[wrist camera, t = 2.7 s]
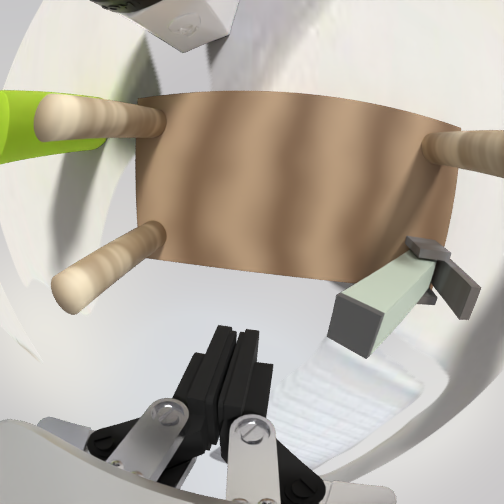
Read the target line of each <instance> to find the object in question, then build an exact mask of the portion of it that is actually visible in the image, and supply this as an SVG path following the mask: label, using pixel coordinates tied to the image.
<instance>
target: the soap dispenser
mask: <svg viewBox="0 0 504 504" xmlns="http://www.w3.org/2000/svg"><path fill="white" fill-rule="evenodd" d="M52 93H53V94H65V95H75V96H83V97H91V98H99V97H92V96H84V95H76V94H66V93H55V92H42V91H18V90H0V164H4V163H9V162H13V161H18V160H24V159H29V158H35V157H41V156H47V155H54V154H61V153H69V152H77V151H86V150H94V149H96V148H98V147H100V146H101V145H102V144H103V143H104V142H105V140H106V139H107V138H93V139H75V140H62V141H51V142H41V141H39V140H38V139H37V137H36V135H35V132H34V116H35V112H36V109H37V107H38V105H39V103H40V101H41V100H42V99H43V98H44V97H45V96H46V95H48V94H52ZM99 99H102V98H99Z"/></svg>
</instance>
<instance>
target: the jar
mask: <svg viewBox="0 0 504 504" xmlns="http://www.w3.org/2000/svg"><path fill="white" fill-rule="evenodd" d="M90 1H92V2H94V3H96V4H98V5H100V6H101V7H102V8H104V9H106V10H110V11H112V12H116V13H117V14H119V15H121V16H123V17H125V18H126V19H128V20H130V21H132V22H133V23H135V24H137V25H138V26H140V27H142V28H143V29H145V30H146V31H148V32H150V33H151V34H153V35H154V36H156V37H158V38H159V39H161V40H163V41H164V42H166V43H168V44H169V45H171V46H172V47H174V48H175V49H177V50H179V51H180V52H182V53H185V52H188V51H190V50H192V49H194V48H197V47H199V46H201V45H204V44H206V43H208V42H211V41H213V40H216V39H219V38H221V37H224V36H227V35H229V33H230V30H231V27H232V23H233V20H234V17H235V13H236V10H237V7H238V4H239V1H240V0H90Z"/></svg>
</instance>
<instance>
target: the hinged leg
mask: <svg viewBox="0 0 504 504" xmlns="http://www.w3.org/2000/svg"><path fill="white" fill-rule="evenodd" d="M436 262H437V260H434V259H427V258H419V257H418V256H417V255H416V254H415V253H414V252H413V251H412V250H411V249H410V250H408V251H407V252H405V253H404V254H402V255H401V256H399V257H398V258H396V259H395V260H393V261H391V262H390V263H388V264H387V265H385V266H384V267H382V268H380V269H379V270H377V271H376V272H374V273H372V274H371V275H369V276H368V277H366V278H364V279H363V280H361V281H359V282H358V283H356V284H354V285H353V286H351V287H349V288H347V289H346V290H344V291H342V292H341V293H339V294H337V295H336V300H335V304H334V309H333V313H332V317H331V322H330V326H329V330H328V334H327V337H328V338H330V339H332V340H334V341H335V342H337V343H339V344H341V345H342V346H344V347H346V348H348V349H349V350H351V351H353V352H355V353H357V354H358V355H360V356H362V357H364V358H365V359H367V358H368V357H369V356H370V355H371V354H372V353H373V352H374V351H375V350H376V349H377V348H378V347H379V346H380V344H381V343H382V342H383V341H384V340H385V339H386V338H387V337H388V336H389V335H390V334H391V333H392V331H393V330H394V329H395V328H396V327H397V326H398V325H399V324H400V322H401V321H402V320H403V319H404V318H405V317H406V315H407V314H408V313H409V312H410V311H411V309H412V308H413V307H414V306H415V305H416V303H417V302H418V301H419V300H420V298H421V297H422V296H423V294H424V293H425V292H426V291H427V289H428V288H429V285H430V282H431V279H432V276H433V272H434V269H435V265H436Z"/></svg>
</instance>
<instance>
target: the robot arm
mask: <svg viewBox="0 0 504 504" xmlns="http://www.w3.org/2000/svg"><path fill="white" fill-rule="evenodd" d="M236 337H237V332H236V331H232V327H228V326H221V325H218V327H217V329H216V331H215V333H214V336H213V338H212V340H211V343H210V345H209V347H208V349H207V352H206V354H202V353H194V355H193V356H192V359H191V361H190V363H189V365H188V367H187V369H186V371H185V373H184V375H183V377H182V379H181V381H180V384H179V385H178V387H177V390H176V391H175V394H174V396H173V398H164V399H159V400H157V401H155V402H153V403H152V405H150V406H149V408H148V409H147V410H146V411H145V413H144V414H143V415H142V416H141V417H140V418H137V419H134V420H130V421H127V422H124V423H120V424H117V425H113V426H110V427H106V428H102V429H99V430H97V431H94V430H91V428H89V427H85V426H81V425H77V424H73V423H70V422H66V421H63V420H60V419H56V418H53V417H47V418H43V419H42V420H40V422H39V423H38V425H37V426H36V425H33V424H31V423H27V422H24V421H19V420H12V419H7V420H2V421H0V504H396V495H395V493H394V491H393V490H391V489H390V488H387V487H383V486H373V485H364V484H355V483H348V482H342V481H336V480H334V481H333V482H330V481H325V480H322V479H321V478H320V477H319V476H318V475H316V474H315V473H314V472H313V471H312V470H311V469H309V468H308V467H307V466H306V465H305V464H304V463H302V462H301V461H300V460H299V459H298V458H297V457H296V456H295V455H293V454H292V453H291V452H290V451H289V450H288V449H287V448H286V447H285V446H284V445H283V444H281V443H280V442H279V441H278V440H277V439H276V432H275V428H274V425H273V424H272V423H271V421H269V420H268V419H267V418H266V414H267V408H268V401H269V394H270V386H271V379H272V371H273V364H267V363H259V362H257V352H258V340H259V331H257V330H249V329H246V330H245V332H240V334H239V337H238V340H237V343H236ZM219 436H220V446H221V457H222V458H223V459H224V460H225V462H226V463H227V464H228V469H227V470H228V471H227V488H226V500H223V499H218V498H213V497H208V496H204V495H199V494H195V493H191V492H187V491H183V490H180V488H181V486H182V484H183V483H184V481H185V479H186V477H187V476H188V474H189V472H190V470H191V469H192V467H193V465H194V463H195V461H196V459H197V456H199V455H202V454H204V453H205V450H210V448H211V445H212V444H213V445H216V444H217V442H218V438H219Z"/></svg>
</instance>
